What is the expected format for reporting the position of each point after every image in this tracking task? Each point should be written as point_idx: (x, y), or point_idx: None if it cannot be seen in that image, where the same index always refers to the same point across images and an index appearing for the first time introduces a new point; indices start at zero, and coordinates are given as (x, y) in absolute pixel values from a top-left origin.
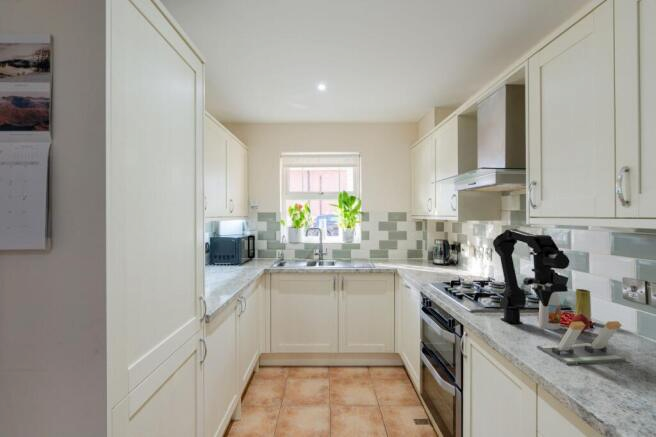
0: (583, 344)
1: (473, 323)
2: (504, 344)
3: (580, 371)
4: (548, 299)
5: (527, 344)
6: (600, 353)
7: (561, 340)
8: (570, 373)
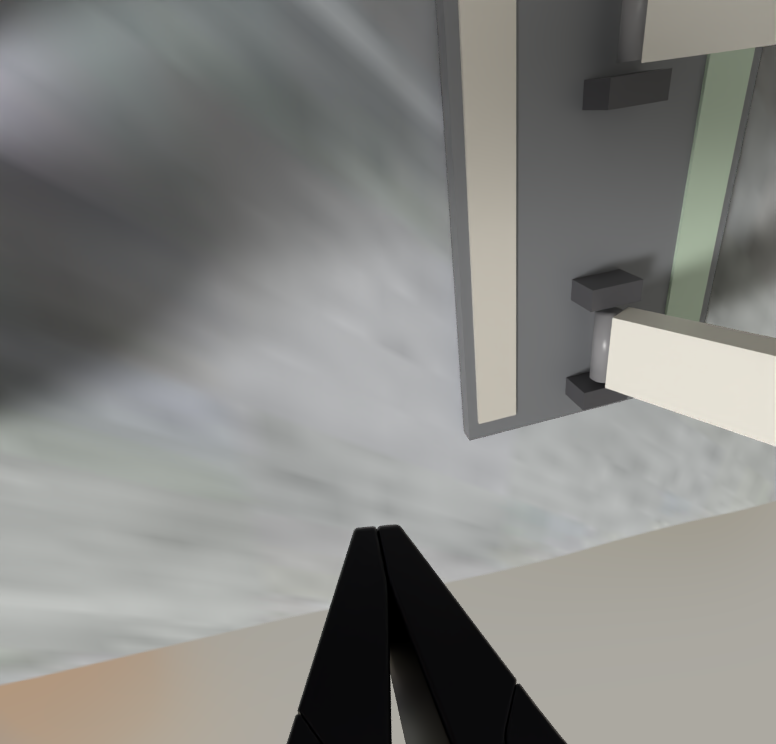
0: (482, 8)
1: (18, 679)
2: None
3: None
4: (496, 679)
5: (407, 463)
6: None
7: (689, 416)
8: None
